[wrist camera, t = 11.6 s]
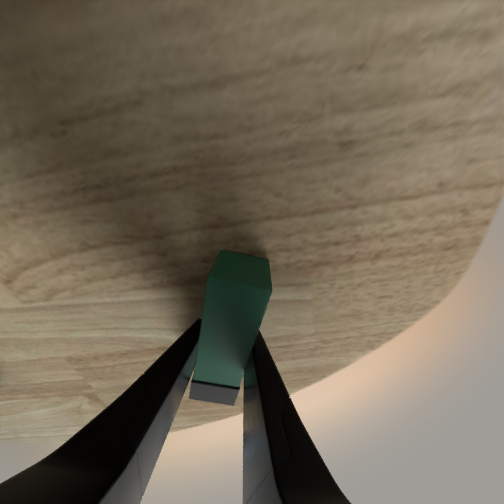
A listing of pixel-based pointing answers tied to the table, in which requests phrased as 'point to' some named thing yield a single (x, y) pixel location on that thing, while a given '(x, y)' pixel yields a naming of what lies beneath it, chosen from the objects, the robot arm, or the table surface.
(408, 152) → the table surface
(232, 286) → the green marker
